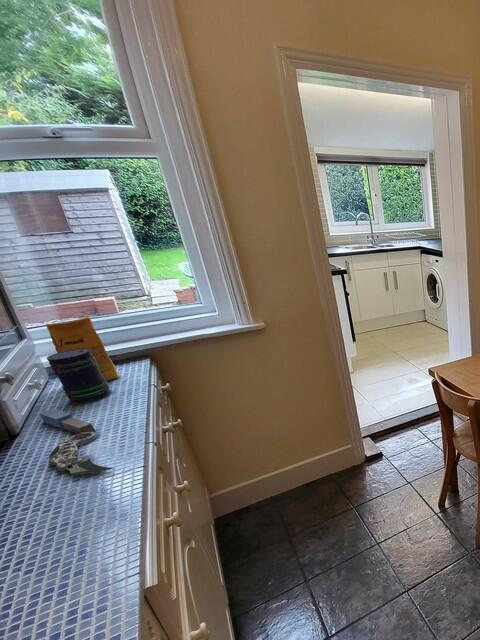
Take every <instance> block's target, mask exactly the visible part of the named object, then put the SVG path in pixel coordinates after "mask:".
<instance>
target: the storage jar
mask: <svg viewBox="0 0 480 640" xmlns="http://www.w3.org/2000/svg"><path fill="white" fill-rule="evenodd" d="M46 360H47V362H49V365H50V368H51V370H52V371H53V374H54V375H55V376H56V377H57V378H58V380H59V382H60V383H61V385H62V390H63V392H64V394H65V396H66V397H67V398H68V399H69V402H70V404H72V405H83V404H88V403H93V402H96V401H99V400H101V399H104V398H106V397H109V396H110V395H112V391H111V389H110V387H109V383H108V381H107V382H106V379H105V378H104V377H103V376H102V375H101V373H100V371H99V369H98V363H97V362H96V359H95V357H94V356H93V354H92V353H91V350H90V349H87V348H83V349H74V350H69V351H64V352H60V353H57V352H56V353H53V354H50V355H48V356H46Z"/></svg>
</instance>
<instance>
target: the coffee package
mask: <svg viewBox="0 0 480 640" xmlns="http://www.w3.org/2000/svg"><path fill="white" fill-rule="evenodd" d="M45 327H46V328H47V331H48V332H49V336H50V339H51V341H52V344H53V346H54V347H55V351H56V353H60V352H64V351H69V350H74V349H83V348H87V349H90V350H91V353H92V354H93V356H94V357H95V359H96V362H97V363H98V369H99V371H100V373H101V375H102V376H103V377H104V378H105V379H106V382H107V383H108V382H109V381H113V380H115V379H118V378H119V373H118V371H117V367H116V366H115V364H114V362H113V360H112V359H111V357H110V356H109V355H108V352H107V350H106V348H105V345H104V344H103V341H102V340H101V338H100V336H99V334H98V333H97V330H96V329H95V328H94V324H93V321H92V319H91V318H90V316H85V317H81V318H78V319H75V320H71V321H66V322H65V321H64V322H53V323H45Z"/></svg>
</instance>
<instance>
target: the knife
mask: <svg viewBox="0 0 480 640" xmlns="http://www.w3.org/2000/svg"><path fill="white" fill-rule="evenodd" d="M96 438H97V435H96V433H95V432H84V433H79V434H77V433H75V434H73V435H72V436H70V437H68V438H66V439H64V440H62V441H60V442H59V443H57V446H56V447H55V448H53V449H52V451H51V452H50V454H49V455H48V459H47V461H48V463H49V465H53V466H56V469H57V470H58V471H63V472H65V471H69V472H70V473H69V474H70V475H85V474H86V475H87V474H95V473H101V472H105V471H110V470H112V469H114V467H113V466H112V467H110V466H103V465H100V464H97V463H95V462H93V460H92V459H91V457H90V455H88V454H85V455H77V454H78V453H79V451H80V449H79V448H78V446H80V445H83V444H87V443H90V442H92V441H93V440H95V439H96Z"/></svg>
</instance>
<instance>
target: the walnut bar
mask: <svg viewBox="0 0 480 640" xmlns="http://www.w3.org/2000/svg"><path fill="white" fill-rule="evenodd" d="M61 423H62V425H63V427H64V428H63V429H64V430H65V431H68V432H71V433H74V434H79V433H84V432H94V433H95V432H96V430H95V428H94V426H93V425H92V423H91V422H89V421H84V420H81V419H78V418H75V417H72V418H70V419H67V420H64V421H61Z"/></svg>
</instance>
